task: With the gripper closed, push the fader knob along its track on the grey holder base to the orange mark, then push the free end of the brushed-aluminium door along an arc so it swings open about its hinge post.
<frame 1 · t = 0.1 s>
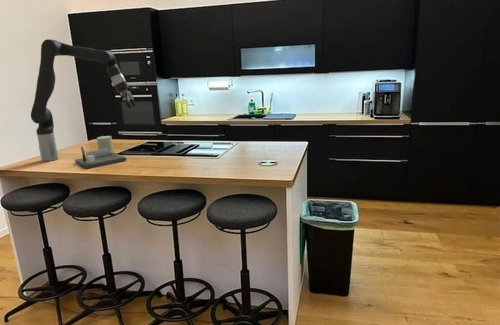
hand: (132, 107, 221), 31 cm above the countertop, tool tilted 20°, fingers open, 8 cm apart
grey holder base: (101, 161, 218), on the countertop
fader: (91, 158, 209), point 4 cm above the countertop, slide at 0.0 cm
rack door: (97, 153, 221), point 5 cm above the countertop, hinge at 0.0°
can: (106, 154, 238), on the countertop
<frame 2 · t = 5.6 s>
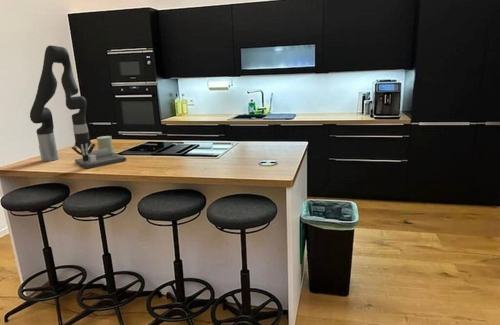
hand: (86, 161, 207), 4 cm above the countertop, tool pointing down, fingers closed
fader: (92, 158, 209), point 4 cm above the countertop, slide at 0.7 cm, touching gripper
everything else where it was.
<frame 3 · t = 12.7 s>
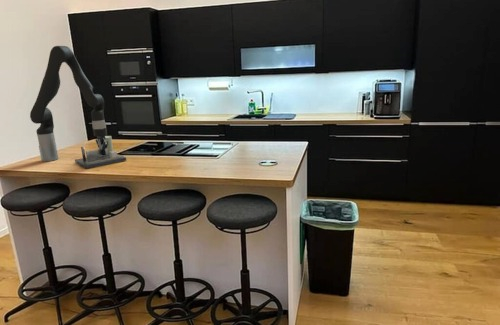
hand: (103, 155, 220), 3 cm above the countertop, tool pointing down, fingers closed
fader: (113, 154, 217), point 4 cm above the countertop, slide at 13.2 cm
rack door: (96, 153, 221), point 5 cm above the countertop, hinge at 1.8°, touching gripper
everything else where it was.
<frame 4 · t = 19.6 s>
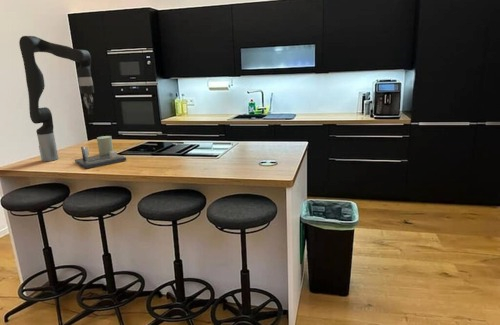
hand: (90, 114, 214), 29 cm above the countertop, tool pointing down, fingers closed
rack door: (85, 153, 223), point 5 cm above the countertop, hinge at 64.8°
everything else where it was.
at the end: fader slide at 13.2 cm; rack door at +65° (first picture: +0°) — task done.
